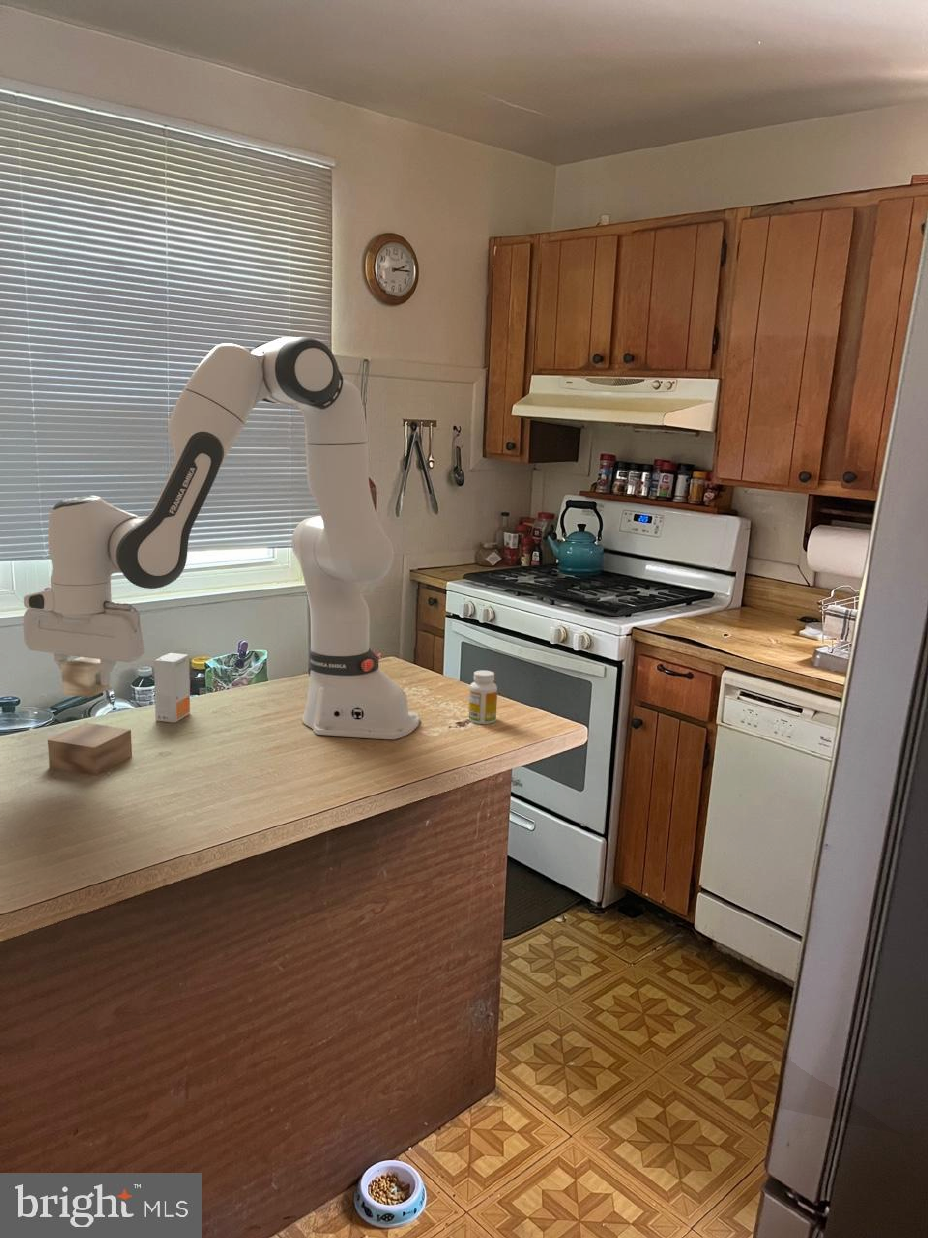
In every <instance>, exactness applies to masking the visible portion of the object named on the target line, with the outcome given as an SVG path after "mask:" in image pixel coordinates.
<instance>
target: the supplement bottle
mask: <svg viewBox="0 0 928 1238" xmlns="http://www.w3.org/2000/svg"><path fill="white" fill-rule="evenodd" d="M473 680H474V681H473V682H471V683H470V685H469V693H468V694H469V699H468V720H469V721H470V722H471V723H473V724H475V725H476V724H477V725H489V724H493V723H495V721H496V719H497V702H498V701H497V699H498V686H497V684H496V683H495V682H494V681H495V673H494V672H493V671H490V670H476V671H474V672H473Z"/></svg>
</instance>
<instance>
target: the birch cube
mask: <svg viewBox="0 0 928 1238" xmlns="http://www.w3.org/2000/svg"><path fill="white" fill-rule="evenodd" d="M103 666H104V665H103ZM103 666H102V665H100V659H95V658H87V657H78V658H75V659H72V660H69V661H68V662H66V663H63V664H61V669H62V673H61V684H62V685H61V686H62V695H67V696H68V695H69V696H75V697H82V698H92V697H94V696H97V695H99V694H101V693H104V692H106V691H109V690H110V683H109V684H108V685H105V686H104V685H97V684H96V674H99V673H101V671H102V669H103Z"/></svg>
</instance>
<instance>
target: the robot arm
mask: <svg viewBox="0 0 928 1238" xmlns="http://www.w3.org/2000/svg"><path fill="white" fill-rule="evenodd" d="M261 401H263V402H266V403H271V404H280V405H287V406H294V405H295V406H297V407H298V409H299V410H300V413H301V414H302V418H303V421H304V426H305V429H304V430H305V434H304V436H305V438H304V439H305V457H306V460H305V461H306V477H307V478H306V479H307V481H306V482H307V486H308V487H307V488H308V489H309V491H310V493H311V494H312V496H313V498H314V500H315V502H316V505H317V507H318V510H319V513H320V515H315V516H311V517H308V518H305V519H303V520H302V521H300V522H299V523H298V524H297V525H296V527H295V528H294V530H293V532H292V535H291V540H290V541H291V548H292V549H291V550H292V552H293V554H294V556H295V558H296V559H297V561H298V563H299V565H300V568H301V573H302V577H303V581H304V585H305V589H306V594H307V599H308V604H309V612H310V614H309V615H310V647H309V649H308V658H307V668H308V669H307V671H308V677H309V683H308V684H309V685H308V690H307V692H308V693H307V698H306V703H305V708H304V712H303V715H302V719H301V721H302V723H303V725H305V726H307V727H309V728H310V729H312V730H313V732H314V734H316V735H317V736H318V735H319V736H329V737H330V736H332V737H333V736H334V737H345V738H347V737H348V738H351V737H352V738H362V739H363V738H365V739H366V738H367V739H381V740H382V739H383V740H396V739H400V738H403V737H406V736H407V735H409V734H411V733H412V732H414V730H416V728H417V727H418V726H419V724H420V716H419V714H418V713H417V712H414V711H409V706H408V700H407V695H406V692H405V691H404V689H403V688H402V687H401V686H400V685H398V684H397V682H395V681H394V680H392V679H391V678H390V677H389V676H387V675H386V674H385V673H384V672H383V671H381V670H380V669H379V660H381V659H382V657H381V655H382V653H381V652H379V653H377V654H376V653H375V652H374V651H373V650H372V649H371V648H370V625H371V624H370V615H371V614H370V613H371V612H370V608H369V605H368V603H367V602H366V600H365V598H364V597H363V593H362V591H361V588H360V584H367V583H375V582H377V581H380V580H381V579H383V578H385V576H386V575H387V574H388V573H389V571H390V570H391V568H392V565H393V562H394V556H395V553H394V552H395V551H394V547H393V544H392V542H391V541H392V540H391V539H390V538H389V536H387V534H386V532H385V531H384V529H383V528H382V525H381V523H380V519H379V517H378V514H377V510H376V507H375V503H374V499H373V495H372V490H371V486H370V478H369V477H370V475H369V459H368V458H369V457H368V455H369V453H368V432H367V423H366V414H365V409H364V406H363V405H364V404H363V400H362V396H361V392H360V390H359V389H358V387H357V386H356V385H355V384H353V383H352V382H350V381H348V380H345V379H344V377H343V374H342V373H341V371H340V369H339V365H338V362H337V360H336V357H335V356H334V354H333V352H332V351H331V349H330V348H329V347H328V346H327V345H326V344H324V343H323V342H322V341H320V340H318V339H315V338H313V337H309V336H298V337H296V336H293V337H292V336H284V337H281V338H277V339H275V340H272V341H266V342H263V343H261V344H257V346H255V347H253V348H252V349H250V350H249V349H247V348H245V347H243V346H241V345H238V344H234V343H227V342H226V343H225V342H224V343H220V344H218V345H216V346H214V347H213V348H212V349H211V350H210V351H209V353H207V355H206V356H205V357H204V358H203V359H202V361H201V362H200V364H199V365H198V366H197V368H196V369H194V371H193V373H192V375H191V376H190V378H189V379H188V381H187V382H186V383H185V386H184V387H183V388H182V391H181V393H180V394H179V396H178V398H177V400H176V403H175V405H174V407H173V410H172V413H171V416H170V418H169V421H168V422H169V423H168V425H167V428H168V429H167V430H168V435H169V439H170V441H171V443H172V447H173V454H174V455H173V456H174V458H173V464H172V468H171V471H170V474H169V476H168V477H167V480H166V481H165V484H164V485H163V487H162V489H161V492H160V494H159V496H158V498H157V499H156V501H155V504H154V506H153V508H152V510H151V512H150V513H149V514H148V516H146V517H144V516H141V515H137V514H134V513H131V512H128V511H126V510H123V509H121V508H119V507H116V506H115V505H112V504H111V503H109V502H108V501H106V500H104V499H103V498H102V497H101V496H98V495H81V496H80V495H78V496H74V497H70V498H65V499H63V500H60V501H58V502H57V503H55V505H53V507H52V508H51V511H50V513H49V519H48V535H47V537H48V538H47V539H48V555H49V558H50V560H51V565H52V571H51V576H50V587H46V588H45V589H43V590H39V591H36V592H32V593H28V594H25V595H24V596H23V605H24V607H25V608H26V609H27V610H26V611H25V613H24V615H23V639H24V640H23V641H24V644H25V646H26V647H27V649H28V650H29V651H33V652H39V653H41V652H42V653H51V654H53V657H54V658H53V659H54V661H55V663H56V664H57V666H58V669H59V670H61V671H60V672H61V674H62V669H61V664H63V663H66V662H68V661H70V660H69V658H71V656H72V657H78V658H80V657H87V658H95V659H100V665H102V666H103V665H104V666H103V669H102V671H101V673H99V674H96V684H97V685H104V686H105V685H108V684H109V685H110V683H111V673H112V672H113V669H114V668H115V666H116V664H117V662H120V663H132V662H136V661H137V660H140V659H141V658H142V657H143V655H144V654H145V644H144V643H145V642H144V637H143V635H144V634H143V630H142V625H141V614H140V612H139V610H137V609H136V608H135V607H134V606H133V605H132V604H130V603H125V602H124V603H120V602H115V601H113V597H112V577H111V576H112V575H113V574H122V575H123V576H124V577H125V578H126V579H127V581H129V583H131V584H132V585H135V586H136V587H138V588H142V589H147V590H155V589H160V588H164V587H167V586H168V585H171V584H172V583H173V582H175V581H176V580H177V579H178V578H179V577H180V576H181V574H182V573H183V571H184V569H185V566H186V563H187V559H188V546H189V539H190V534H191V531H192V529H193V527H194V524H195V522H196V520H197V518H198V516H199V514H200V512H201V510H202V507H203V505H204V503H205V501H206V499H207V497H208V495H209V492H211V491H210V490H211V488H212V486H213V484H214V482H215V479H216V477H217V476H218V473H219V470H220V469H221V467H222V465H223V463H224V461H225V459H226V457H227V456H228V454H229V453H230V450H231V449H232V448H233V446H234V444H235V442H236V441H237V439H238V438H239V435H240V434H241V432H242V430H243V428H244V426H245V425H246V423H247V421H248V419H249V417H250V415H251V414H252V413H251V412H252V410H254V408H255V407H256V406H257V404H259V402H261Z"/></svg>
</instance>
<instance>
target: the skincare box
mask: <svg viewBox="0 0 928 1238" xmlns="http://www.w3.org/2000/svg"><path fill="white" fill-rule="evenodd" d="M153 677H154V682H153V683H154V710H155V711H154V712H155V713H154V716H155V721H156V722H164V723H165V722H166V723H176V722H178V721H180V720H181V719H183V718H185V717H187V716H188V715H191V689H190V686H191V685H190V683H191V682H190V678H191V677H190V655H189V654H185V653H177V652H169V653H166V654H164V655H162V656H159V658H157V659H154V660H153Z"/></svg>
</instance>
